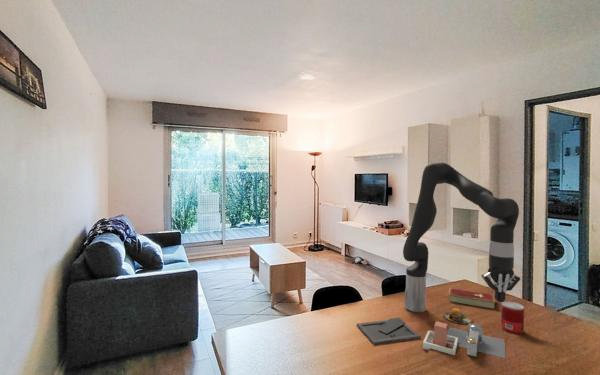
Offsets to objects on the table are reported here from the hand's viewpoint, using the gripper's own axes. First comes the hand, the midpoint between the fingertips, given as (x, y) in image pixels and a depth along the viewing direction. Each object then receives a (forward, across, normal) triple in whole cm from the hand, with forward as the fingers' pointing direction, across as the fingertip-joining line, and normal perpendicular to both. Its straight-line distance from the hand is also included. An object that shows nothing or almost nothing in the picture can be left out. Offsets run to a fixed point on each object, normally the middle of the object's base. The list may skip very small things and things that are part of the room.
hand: (500, 301), depth 113 cm
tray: (+21, -18, +7) cm, 28 cm away
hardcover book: (+22, +16, +53) cm, 60 cm away
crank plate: (+21, -4, +10) cm, 23 cm away
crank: (+20, -6, +6) cm, 21 cm away
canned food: (+21, +18, +22) cm, 35 cm away
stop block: (+20, -18, +7) cm, 28 cm away
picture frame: (+22, -36, +18) cm, 46 cm away
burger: (+22, -1, +30) cm, 37 cm away
